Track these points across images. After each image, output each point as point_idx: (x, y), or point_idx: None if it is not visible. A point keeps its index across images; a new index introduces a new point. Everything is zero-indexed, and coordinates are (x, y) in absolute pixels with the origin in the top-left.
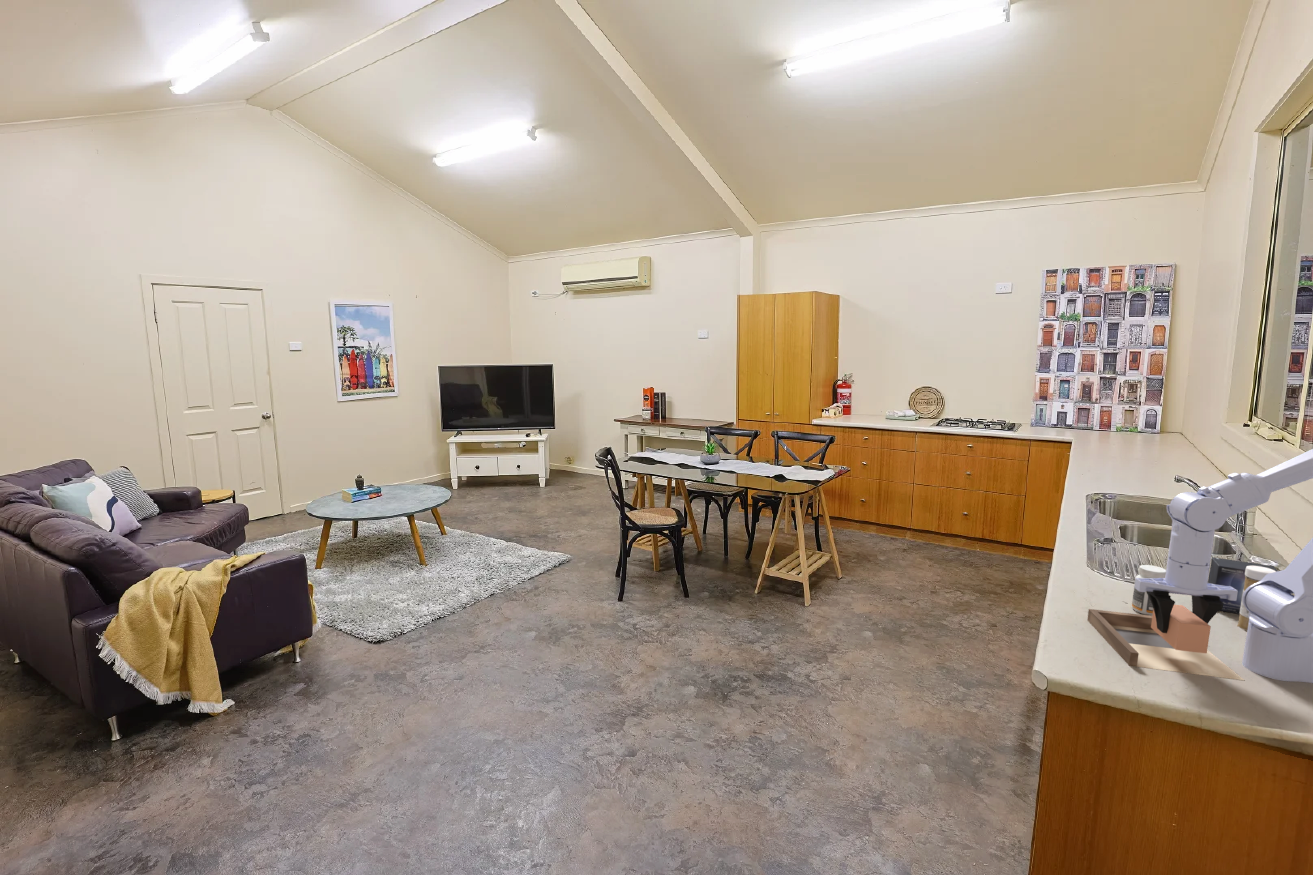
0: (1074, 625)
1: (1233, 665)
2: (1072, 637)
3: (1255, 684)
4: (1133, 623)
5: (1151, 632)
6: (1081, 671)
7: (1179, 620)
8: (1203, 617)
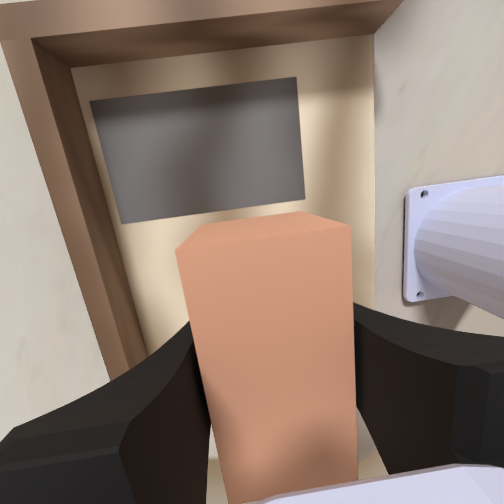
0: (11, 82)
1: (402, 213)
2: (8, 205)
3: (396, 304)
4: (194, 43)
5: (251, 79)
6: (36, 408)
7: (239, 475)
8: (370, 429)
